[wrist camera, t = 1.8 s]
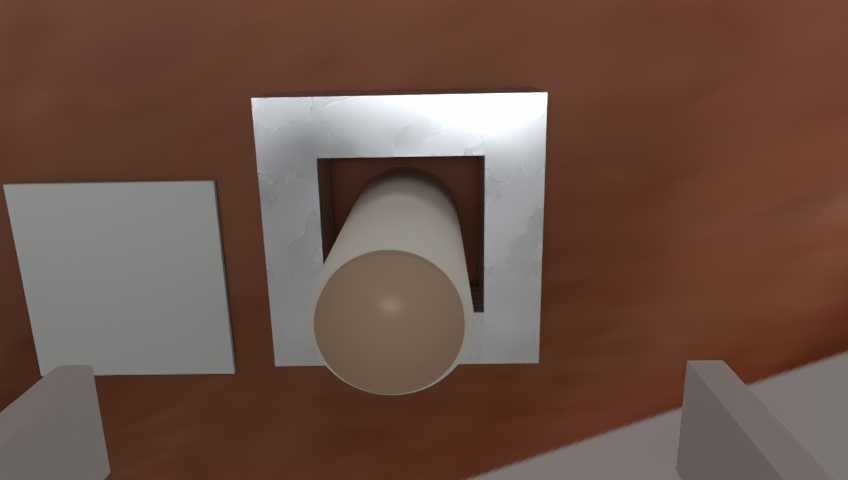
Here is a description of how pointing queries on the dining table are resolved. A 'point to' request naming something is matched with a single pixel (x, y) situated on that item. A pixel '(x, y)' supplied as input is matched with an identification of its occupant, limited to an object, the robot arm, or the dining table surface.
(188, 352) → the pad
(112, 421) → the dining table surface
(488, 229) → the housing
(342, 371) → the off-white cylinder
